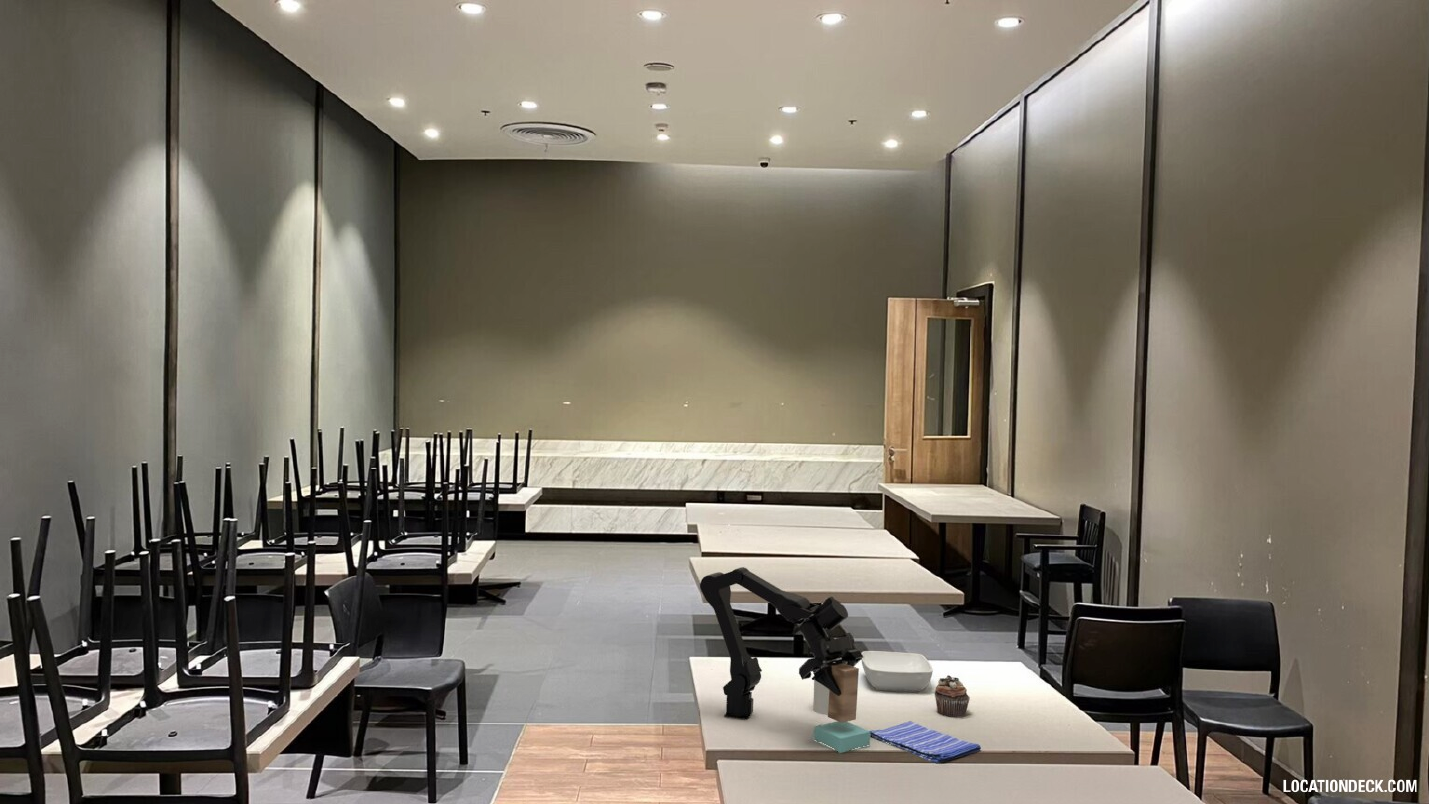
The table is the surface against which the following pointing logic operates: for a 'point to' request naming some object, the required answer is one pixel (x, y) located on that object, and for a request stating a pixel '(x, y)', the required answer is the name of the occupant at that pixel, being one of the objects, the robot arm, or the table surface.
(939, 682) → the cupcake
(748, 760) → the table surface
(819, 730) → the teal plinth
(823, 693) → the cup
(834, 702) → the walnut pillar
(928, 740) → the dish towel
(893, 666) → the square bowl
